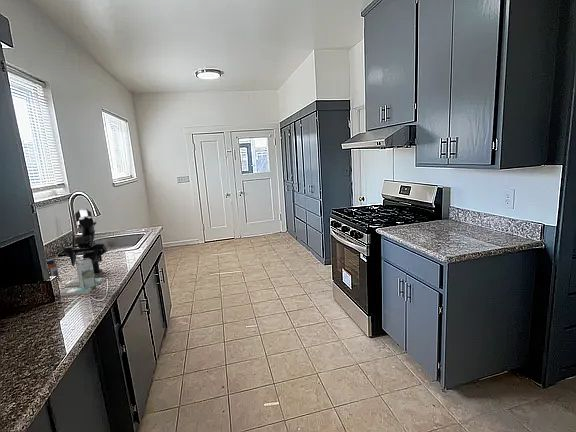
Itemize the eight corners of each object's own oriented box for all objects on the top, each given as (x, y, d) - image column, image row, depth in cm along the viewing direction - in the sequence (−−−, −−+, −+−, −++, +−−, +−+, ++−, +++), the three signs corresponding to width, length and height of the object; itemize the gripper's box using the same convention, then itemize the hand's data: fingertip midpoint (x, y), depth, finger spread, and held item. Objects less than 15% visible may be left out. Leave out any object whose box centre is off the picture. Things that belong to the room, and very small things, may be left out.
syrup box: (92, 283, 175) (87, 257, 172) (96, 286, 171) (91, 259, 168) (80, 287, 171) (74, 260, 168) (84, 290, 167) (79, 262, 164)
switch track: (69, 283, 178) (68, 280, 177) (102, 280, 179) (102, 277, 179) (50, 297, 161) (50, 293, 161) (87, 293, 163) (87, 290, 162)
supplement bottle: (43, 280, 185) (39, 261, 183) (54, 276, 190) (50, 257, 188) (51, 281, 183) (46, 262, 181) (61, 277, 188) (57, 258, 186)
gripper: (61, 231, 167) (54, 259, 159) (101, 228, 171) (97, 255, 162) (70, 243, 176) (65, 269, 168) (108, 239, 180) (105, 265, 171)
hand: (83, 264), depth 167 cm, fingers open, 9 cm apart
